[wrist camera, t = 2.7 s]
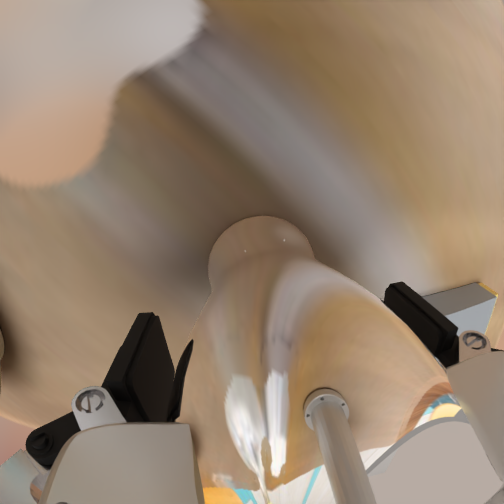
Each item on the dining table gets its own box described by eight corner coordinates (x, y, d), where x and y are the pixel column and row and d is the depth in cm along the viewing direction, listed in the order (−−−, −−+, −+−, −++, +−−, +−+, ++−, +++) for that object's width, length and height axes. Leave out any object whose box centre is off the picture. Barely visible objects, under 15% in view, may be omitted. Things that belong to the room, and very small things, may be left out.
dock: (339, 314, 18) (356, 339, 15) (479, 281, 18) (500, 295, 16) (321, 442, 23) (327, 464, 20) (433, 404, 24) (444, 420, 21)
